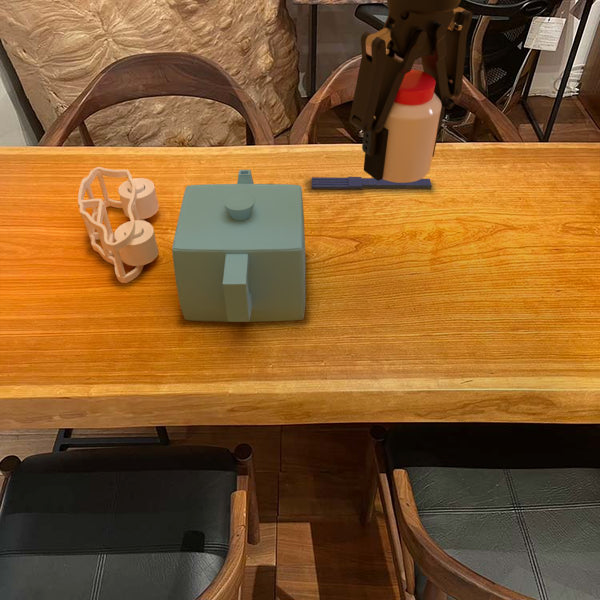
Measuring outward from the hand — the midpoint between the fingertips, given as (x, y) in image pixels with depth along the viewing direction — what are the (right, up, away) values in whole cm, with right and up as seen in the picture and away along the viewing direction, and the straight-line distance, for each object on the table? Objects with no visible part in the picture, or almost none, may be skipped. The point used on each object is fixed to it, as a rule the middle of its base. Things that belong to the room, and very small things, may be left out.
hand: (399, 163), depth 73 cm
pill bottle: (0, 0, 0) cm, 0 cm away
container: (-20, -14, +13) cm, 28 cm away
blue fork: (0, +3, +30) cm, 30 cm away
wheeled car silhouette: (-40, -8, +20) cm, 45 cm away
